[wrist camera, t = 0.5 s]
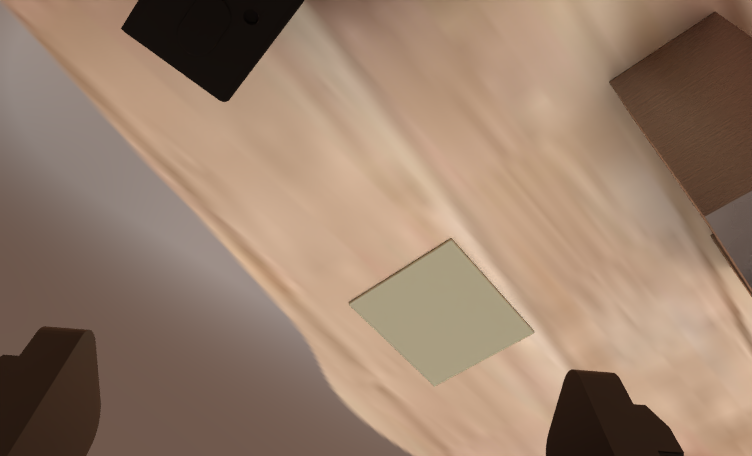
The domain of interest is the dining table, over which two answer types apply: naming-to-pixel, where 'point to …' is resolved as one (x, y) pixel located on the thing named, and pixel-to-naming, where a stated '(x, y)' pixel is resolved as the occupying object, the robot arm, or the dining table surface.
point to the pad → (442, 314)
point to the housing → (703, 126)
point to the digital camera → (210, 36)
